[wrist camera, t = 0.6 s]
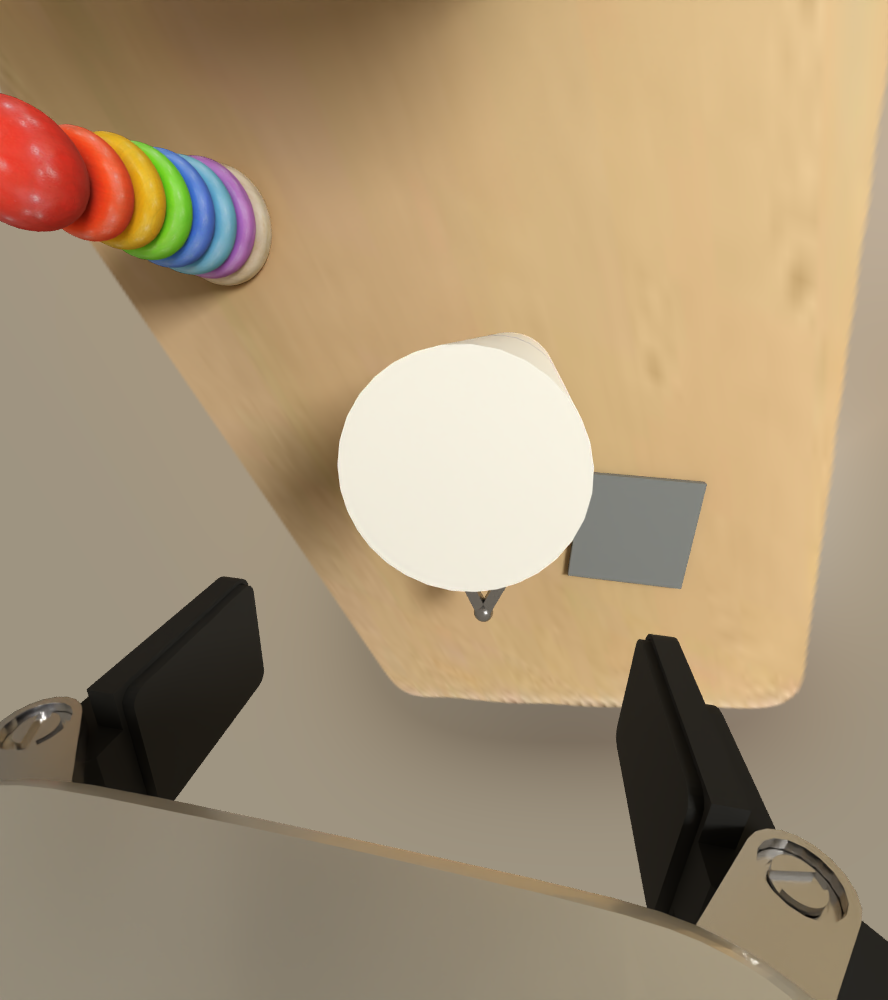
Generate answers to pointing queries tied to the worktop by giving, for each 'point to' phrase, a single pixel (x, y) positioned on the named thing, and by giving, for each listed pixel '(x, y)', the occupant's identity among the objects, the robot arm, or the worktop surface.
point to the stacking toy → (130, 196)
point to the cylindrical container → (467, 463)
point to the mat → (637, 530)
